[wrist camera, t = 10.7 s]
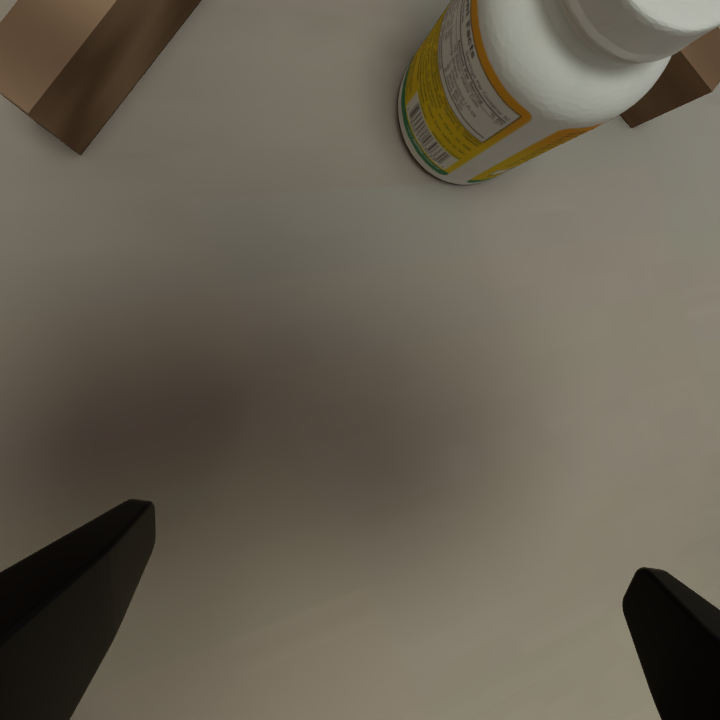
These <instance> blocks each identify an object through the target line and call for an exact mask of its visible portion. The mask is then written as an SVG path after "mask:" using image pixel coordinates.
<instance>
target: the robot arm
mask: <svg viewBox="0 0 720 720" xmlns="http://www.w3.org/2000/svg"><path fill="white" fill-rule="evenodd" d="M154 544H155V507H154V504H153V503H152V502H150V501H144V500H137V499H130V500H127V501H125V502H123V503H121V504H120V505H118V506H116V507H114V508H113V509H111V510H109V511H107V512H106V513H104V514H102V515H100V516H99V517H97V518H95V519H93V520H92V521H90V522H88V523H86V524H84V525H83V526H81V527H79V528H77V529H76V530H74V531H72V532H70V533H69V534H67V535H65V536H63V537H62V538H60V539H58V540H56V541H55V542H53V543H51V544H49V545H48V546H46V547H44V548H42V549H40V550H39V551H37V552H35V553H33V554H32V555H30V556H28V557H26V558H25V559H23V560H21V561H19V562H18V563H16V564H14V565H12V566H11V567H9V568H7V569H5V570H3V571H2V572H0V720H70V718H71V716H72V714H73V712H74V711H75V709H76V707H77V705H78V703H79V702H80V700H81V698H82V696H83V694H84V693H85V691H86V689H87V687H88V685H89V684H90V682H91V680H92V678H93V676H94V675H95V673H96V671H97V669H98V667H99V666H100V664H101V662H102V660H103V658H104V657H105V655H106V653H107V651H108V649H109V647H110V645H111V643H112V642H113V640H114V638H115V636H116V634H117V631H118V629H119V627H120V625H121V623H122V620H123V618H124V616H125V613H126V611H127V609H128V606H129V604H130V602H131V599H132V597H133V595H134V593H135V590H136V588H137V586H138V583H139V581H140V579H141V576H142V574H143V572H144V569H145V567H146V565H147V562H148V560H149V558H150V555H151V553H152V550H153V547H154ZM623 612H624V616H625V619H626V622H627V625H628V628H629V631H630V633H631V636H632V639H633V642H634V645H635V648H636V651H637V654H638V657H639V660H640V663H641V666H642V669H643V672H644V674H645V677H646V680H647V683H648V686H649V689H650V692H651V694H652V697H653V700H654V703H655V705H656V707H657V710H658V712H659V715H660V717H661V720H720V610H719V609H718V608H716V607H715V606H714V605H712V604H711V603H709V602H708V601H707V600H705V599H704V598H702V597H701V596H700V595H698V594H697V593H695V592H694V591H693V590H691V589H690V588H689V587H687V586H686V585H684V584H683V583H682V582H680V581H679V580H677V579H676V578H675V577H673V576H672V575H670V574H669V573H668V572H666V571H664V570H661V569H654V568H646V567H642V568H640V569H638V570H637V571H636V573H635V575H634V577H633V579H632V581H631V583H630V585H629V587H628V589H627V591H626V593H625V595H624V598H623Z"/></svg>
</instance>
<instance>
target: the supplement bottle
mask: <svg viewBox="0 0 720 720" xmlns="http://www.w3.org/2000/svg"><path fill="white" fill-rule="evenodd" d="M719 25H720V0H451V2H450V3H449V5H448V6H447V8H446V9H445V11H444V12H443V14H442V15H441V17H440V18H439V20H438V21H437V23H436V24H435V26H434V28H433V29H432V31H431V32H430V34H429V35H428V36H427V38H426V39H425V41H424V42H423V44H422V45H421V47H420V48H419V50H418V51H417V53H416V54H415V56H414V57H413V59H412V61H411V62H410V64H409V66H408V68H407V69H406V72H405V74H404V77H403V80H402V83H401V87H400V92H399V98H398V116H399V122H400V127H401V131H402V134H403V137H404V140H405V142H406V145H407V146H408V148H409V150H410V152H411V154H412V155H413V156H414V158H415V159H416V160H417V161H418V163H419V164H420V165H421V166H422V167H423V168H424V169H425V170H427V171H428V172H429V173H431V174H432V175H434V176H436V177H437V178H439V179H441V180H444V181H447V182H450V183H454V184H462V185H471V184H477V183H481V182H484V181H487V180H489V179H491V178H494V177H496V176H498V175H500V174H502V173H504V172H506V171H508V170H510V169H512V168H514V167H516V166H518V165H520V164H522V163H524V162H526V161H528V160H530V159H532V158H534V157H536V156H538V155H540V154H542V153H544V152H546V151H548V150H550V149H552V148H554V147H556V146H558V145H561V144H563V143H565V142H567V141H569V140H571V139H573V138H575V137H577V136H579V135H581V134H583V133H586V132H588V131H590V130H592V129H594V128H596V127H597V126H599V125H601V124H603V123H605V122H607V121H609V120H611V119H613V118H614V117H616V116H618V115H620V114H621V113H623V112H625V111H626V110H627V109H629V108H630V107H631V106H633V105H634V104H635V103H636V102H638V101H639V100H640V99H641V98H642V97H643V96H644V95H645V94H646V93H647V92H648V91H649V90H650V89H651V88H652V86H653V85H654V84H655V82H656V81H657V80H658V78H659V77H660V75H661V74H662V72H663V71H664V69H665V68H666V66H667V64H668V62H669V60H670V58H671V56H672V55H674V54H676V53H677V52H679V51H680V50H682V49H683V48H685V47H686V46H688V45H689V44H690V43H692V42H693V41H695V40H696V39H698V38H700V37H701V36H703V35H705V34H706V33H708V32H710V31H711V30H713V29H715V28H716V27H718V26H719Z"/></svg>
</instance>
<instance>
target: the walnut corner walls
mask: <svg viewBox="0 0 720 720" xmlns="http://www.w3.org/2000/svg"><path fill="white" fill-rule="evenodd" d="M200 1H201V0H18V1H17V2H16V4H15V5H14V6H13V7H12V9H11V10H10V11H9V12H8V14H7V15H6V16H5V18H4V19H3V20H2V21H1V23H0V94H1V95H3V96H4V97H5V98H6V99H8V100H9V101H10V102H11V103H13V104H14V105H15V106H17V107H18V108H19V109H20V110H22V111H23V112H24V113H25V114H27V115H28V116H29V117H31V118H32V119H33V120H34V121H36V122H37V123H38V124H40V125H41V126H42V127H44V128H45V129H46V130H48V131H49V132H50V133H52V134H53V135H54V136H56V137H57V138H58V139H60V140H61V141H62V142H64V143H65V144H66V145H67V146H69V147H70V148H71V149H73V150H74V151H75V152H77V153H78V154H79V155H81V154H82V153H83V151H84V150H85V149H86V147H87V146H88V145H89V144H90V142H91V141H92V140H93V138H94V137H95V136H96V135H97V133H98V132H99V131H100V129H101V128H102V127H103V126H104V124H105V123H106V122H107V120H108V119H109V118H110V117H111V115H112V114H113V113H114V111H115V110H116V109H117V108H118V106H119V105H120V104H121V102H122V101H123V100H124V99H125V97H126V96H127V95H128V93H129V92H130V91H131V90H132V88H133V87H134V86H135V84H136V83H137V82H138V80H139V79H140V78H141V77H142V75H143V74H144V73H145V71H146V70H147V69H148V68H149V66H150V65H151V64H152V62H153V61H154V60H155V59H156V57H157V56H158V55H159V53H160V52H161V51H162V50H163V48H164V47H165V46H166V44H167V43H168V42H169V41H170V39H171V38H172V37H173V35H174V34H175V33H176V32H177V30H178V29H179V28H180V26H181V25H182V24H183V23H184V21H185V20H186V19H187V17H188V16H189V15H190V14H191V12H192V11H193V10H194V8H195V7H196V6H197V5H198V3H199V2H200ZM719 82H720V29H719V28H718V27H716V28H715V29H713V30H711V31H710V32H708V33H706V34H705V35H703V36H701V37H700V38H698V39H696V40H695V41H693V42H692V43H690V44H689V45H688V46H686V47H685V48H683V49H682V50H680V51H679V52H677V53H676V54H674V55H672V56H671V58H670V60H669V62H668V64H667V66H666V68H665V69H664V71H663V72H662V74H661V75H660V77H659V78H658V80H657V81H656V82H655V84H654V85H653V86H652V88H651V89H650V90H649V91H648V92H647V93H646V94H645V95H644V96H643V97H642V98H641V99H640V100H639V101H638V102H636V103H635V104H634V105H633V106H631V107H630V108H629V109H627V110H626V111H625V112H623V113H621V114H620V115H621V116H622V117H623V118H624V119H625V121H626V122H627V123H628V124H629V125H630V126H631V127H632V128H633V127H635V126H638V125H640V124H642V123H644V122H646V121H649V120H651V119H653V118H655V117H657V116H660V115H662V114H664V113H666V112H668V111H671V110H673V109H675V108H677V107H679V106H682V105H684V104H686V103H688V102H691V101H693V100H695V99H697V98H699V97H702V96H704V95H706V94H708V93H710V92H712V91H713V90H714V89H715V87H716V86H717V85H718V83H719Z"/></svg>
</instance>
